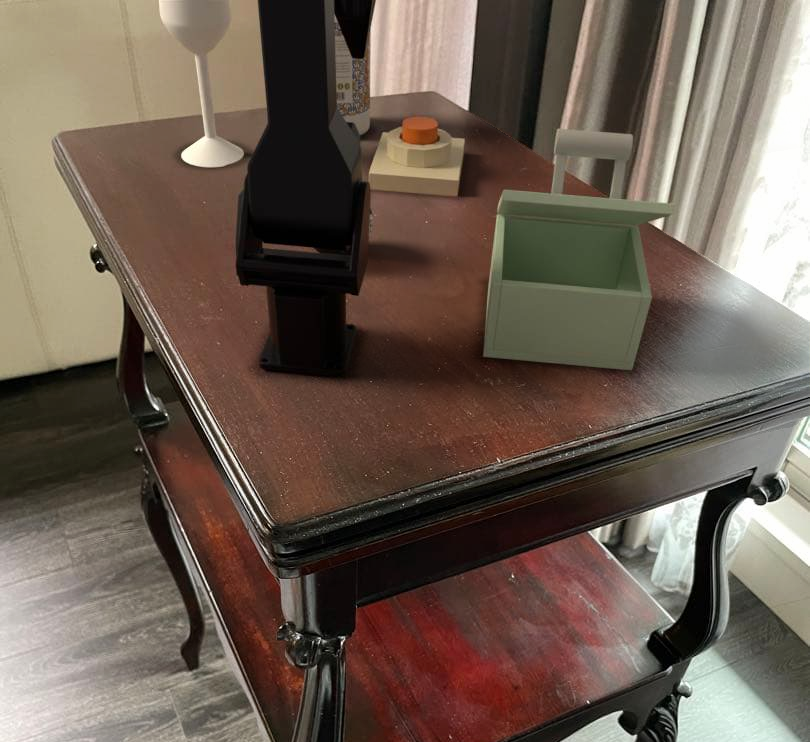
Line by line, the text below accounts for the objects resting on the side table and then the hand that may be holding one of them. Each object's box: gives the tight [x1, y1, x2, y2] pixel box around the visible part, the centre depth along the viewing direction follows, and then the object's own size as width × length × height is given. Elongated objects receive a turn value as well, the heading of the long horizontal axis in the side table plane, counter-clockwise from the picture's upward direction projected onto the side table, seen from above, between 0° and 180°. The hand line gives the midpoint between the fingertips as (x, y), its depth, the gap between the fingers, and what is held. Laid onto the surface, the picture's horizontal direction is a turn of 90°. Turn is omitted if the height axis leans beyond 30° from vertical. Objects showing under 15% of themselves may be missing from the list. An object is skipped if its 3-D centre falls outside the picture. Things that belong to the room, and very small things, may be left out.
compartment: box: [482, 213, 653, 371], centre depth 66 cm, size 11×11×6 cm
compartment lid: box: [496, 128, 676, 226], centre depth 61 cm, size 12×11×5 cm
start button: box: [401, 116, 439, 145], centre depth 86 cm, size 4×4×2 cm
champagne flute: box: [158, 0, 245, 168], centre depth 81 cm, size 7×7×24 cm
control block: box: [368, 126, 466, 197], centre depth 87 cm, size 11×9×4 cm
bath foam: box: [334, 14, 372, 136], centre depth 89 cm, size 7×7×20 cm
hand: (358, 57), depth 73 cm, fingers closed
